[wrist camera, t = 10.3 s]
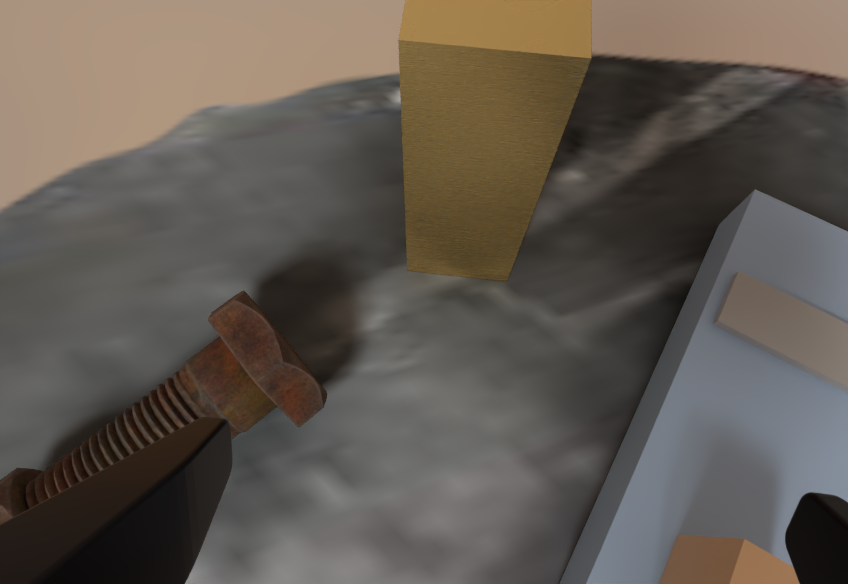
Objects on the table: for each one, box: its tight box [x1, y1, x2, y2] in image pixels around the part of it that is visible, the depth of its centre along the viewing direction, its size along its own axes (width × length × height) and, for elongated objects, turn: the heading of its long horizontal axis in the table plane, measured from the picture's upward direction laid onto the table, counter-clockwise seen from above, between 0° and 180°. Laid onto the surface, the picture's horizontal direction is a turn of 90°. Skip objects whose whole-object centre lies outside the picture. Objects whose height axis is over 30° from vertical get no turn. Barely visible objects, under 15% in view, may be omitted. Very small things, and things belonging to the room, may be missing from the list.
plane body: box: [559, 189, 848, 584], centre depth 19 cm, size 18×7×7 cm, turn 149°
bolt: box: [0, 291, 327, 524], centre depth 20 cm, size 6×5×15 cm
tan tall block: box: [399, 0, 591, 281], centre depth 20 cm, size 4×4×13 cm
